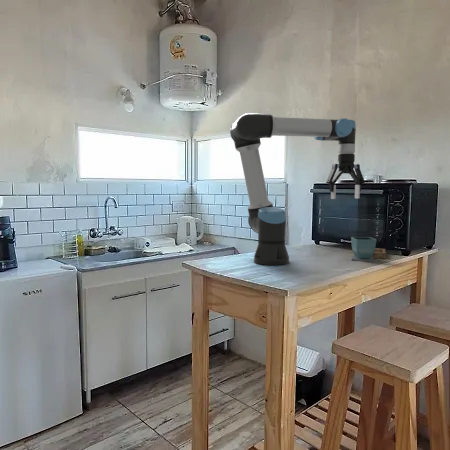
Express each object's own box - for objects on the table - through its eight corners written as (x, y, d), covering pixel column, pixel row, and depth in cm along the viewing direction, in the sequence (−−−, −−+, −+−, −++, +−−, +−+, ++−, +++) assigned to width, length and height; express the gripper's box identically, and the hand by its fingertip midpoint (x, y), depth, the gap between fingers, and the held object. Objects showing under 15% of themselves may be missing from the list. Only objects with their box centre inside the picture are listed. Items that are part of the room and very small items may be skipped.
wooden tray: (354, 256, 189) (354, 251, 188) (355, 252, 201) (355, 247, 201) (385, 258, 184) (385, 253, 184) (384, 253, 197) (385, 248, 196)
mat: (351, 260, 180) (351, 259, 180) (352, 256, 189) (352, 255, 189) (373, 261, 177) (373, 260, 177) (373, 258, 186) (373, 256, 186)
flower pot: (376, 259, 179) (377, 239, 178) (356, 259, 178) (357, 239, 178) (369, 256, 187) (369, 236, 186) (350, 256, 187) (350, 236, 186)
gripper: (363, 154, 200) (361, 198, 202) (319, 153, 191) (318, 198, 193) (373, 153, 193) (371, 198, 195) (328, 152, 184) (327, 199, 186)
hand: (345, 198), depth 194 cm, fingers open, 13 cm apart
